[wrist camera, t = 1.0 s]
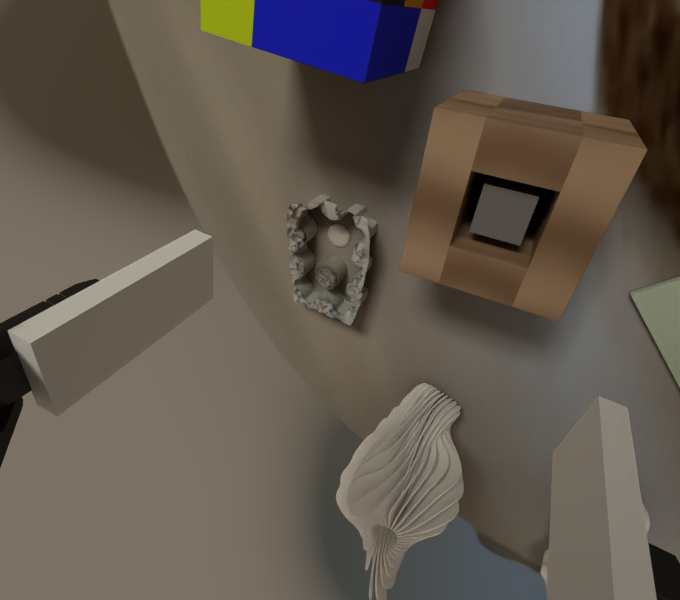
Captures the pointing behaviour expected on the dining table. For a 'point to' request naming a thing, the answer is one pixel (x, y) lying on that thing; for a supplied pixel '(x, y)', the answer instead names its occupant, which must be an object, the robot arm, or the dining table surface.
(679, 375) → the square base plate
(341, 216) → the grey piece
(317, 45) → the puzzle toy
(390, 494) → the shell sculpture
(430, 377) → the dining table surface
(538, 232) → the hollow square sleeve
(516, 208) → the stand post
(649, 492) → the dining table surface
